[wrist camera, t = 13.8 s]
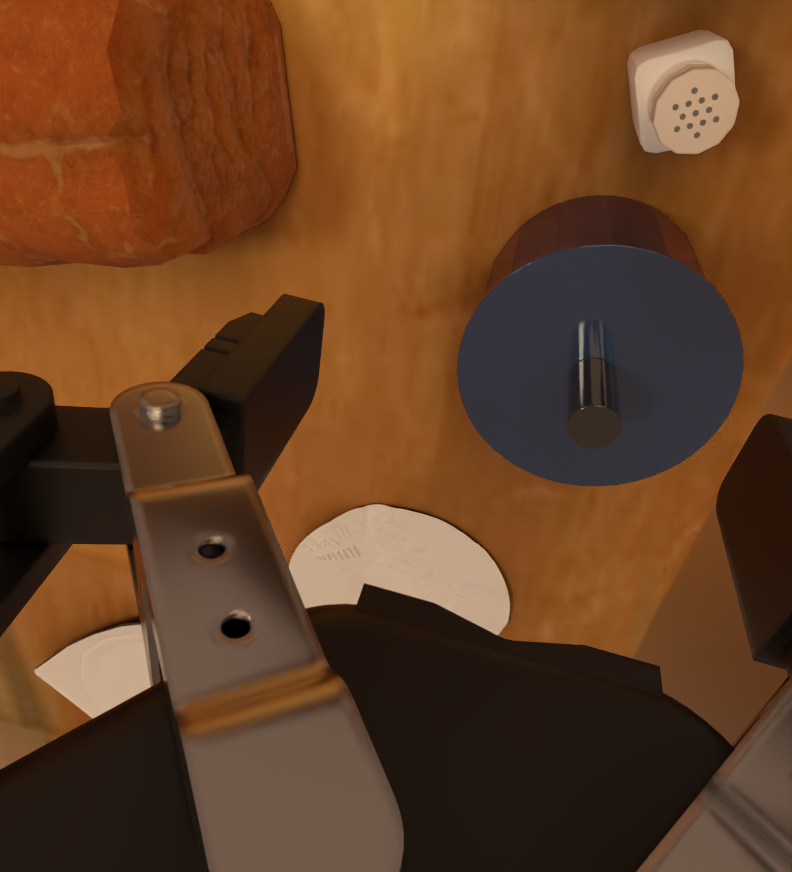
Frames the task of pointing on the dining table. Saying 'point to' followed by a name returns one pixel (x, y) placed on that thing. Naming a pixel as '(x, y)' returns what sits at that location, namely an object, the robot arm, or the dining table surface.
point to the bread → (138, 128)
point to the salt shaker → (683, 92)
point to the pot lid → (600, 363)
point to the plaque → (400, 564)
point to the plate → (100, 669)
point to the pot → (592, 231)
